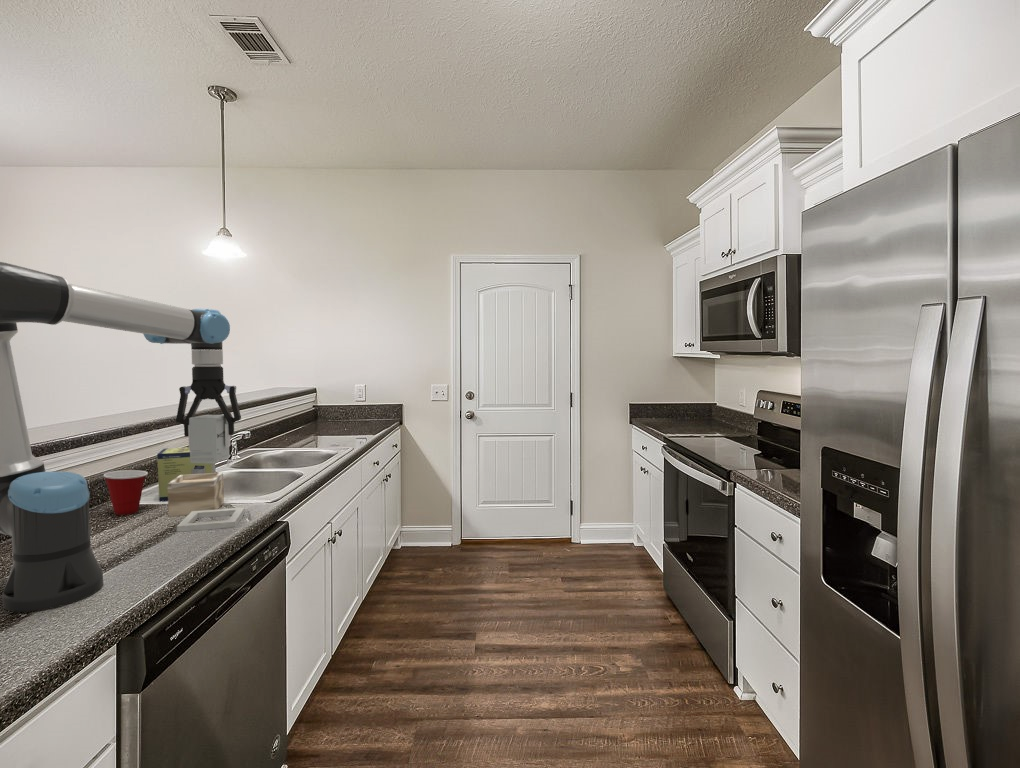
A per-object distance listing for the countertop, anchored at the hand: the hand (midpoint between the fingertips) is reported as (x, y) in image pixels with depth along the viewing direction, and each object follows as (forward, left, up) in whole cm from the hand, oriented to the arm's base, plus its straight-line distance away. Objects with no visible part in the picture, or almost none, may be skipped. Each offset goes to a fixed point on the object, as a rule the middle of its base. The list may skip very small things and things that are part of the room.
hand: (210, 447), depth 150 cm
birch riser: (+15, +7, -21) cm, 27 cm away
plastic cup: (+17, +26, -21) cm, 38 cm away
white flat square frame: (0, 0, -21) cm, 21 cm away
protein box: (+33, +14, -21) cm, 42 cm away
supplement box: (0, 0, -4) cm, 4 cm away
